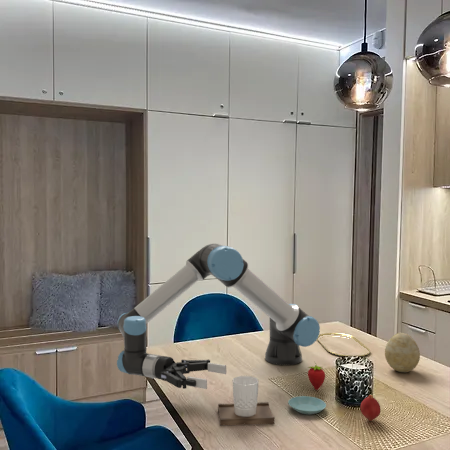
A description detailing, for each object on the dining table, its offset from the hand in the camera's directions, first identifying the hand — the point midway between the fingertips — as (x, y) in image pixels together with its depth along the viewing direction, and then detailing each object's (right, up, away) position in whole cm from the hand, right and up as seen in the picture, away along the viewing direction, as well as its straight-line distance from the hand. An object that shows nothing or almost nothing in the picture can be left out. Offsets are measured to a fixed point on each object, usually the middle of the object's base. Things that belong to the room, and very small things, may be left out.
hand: (216, 376), depth 151 cm
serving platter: (+56, -8, +68) cm, 88 cm away
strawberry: (+34, -10, +16) cm, 39 cm away
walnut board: (+9, -11, -4) cm, 15 cm away
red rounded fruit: (+46, -11, -7) cm, 48 cm away
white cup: (+9, -10, -4) cm, 14 cm away
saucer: (+29, -11, +1) cm, 31 cm away
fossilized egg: (+71, -9, +35) cm, 80 cm away
